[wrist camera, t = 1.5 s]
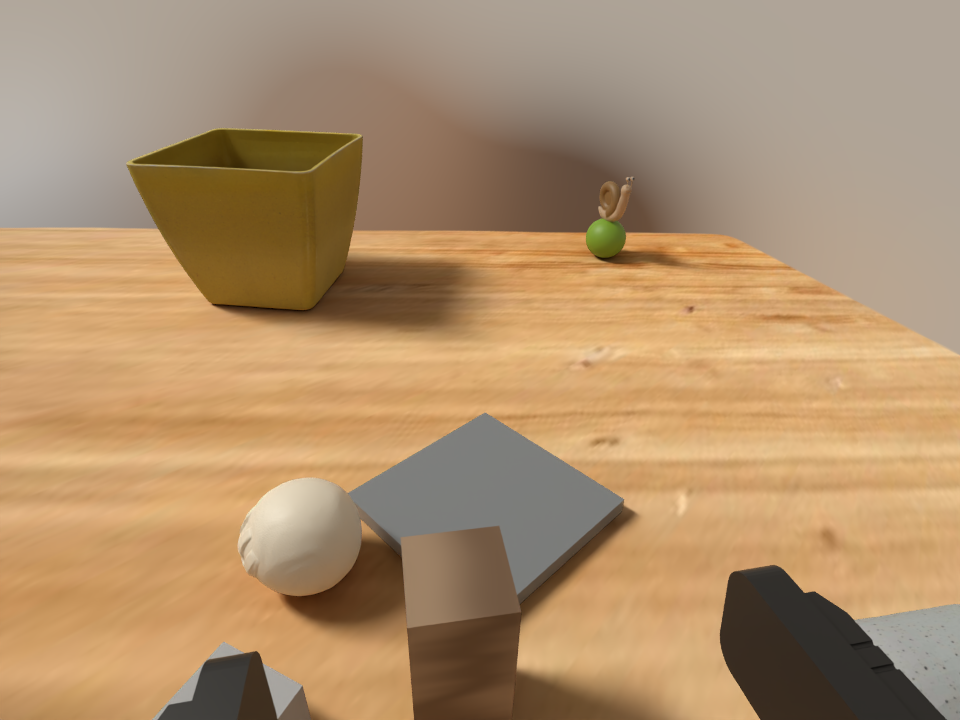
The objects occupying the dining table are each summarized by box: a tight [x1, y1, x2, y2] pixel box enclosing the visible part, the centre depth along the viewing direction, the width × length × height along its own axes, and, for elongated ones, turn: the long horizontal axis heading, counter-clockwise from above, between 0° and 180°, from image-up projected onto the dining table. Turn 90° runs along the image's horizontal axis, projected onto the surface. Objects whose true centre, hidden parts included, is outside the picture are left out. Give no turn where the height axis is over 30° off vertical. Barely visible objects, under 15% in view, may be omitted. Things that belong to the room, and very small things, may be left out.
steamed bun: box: [238, 478, 362, 596], centre depth 36 cm, size 7×7×7 cm
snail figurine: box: [586, 177, 634, 258], centre depth 80 cm, size 5×6×12 cm
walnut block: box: [401, 526, 521, 720], centre depth 28 cm, size 4×4×11 cm
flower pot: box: [126, 128, 363, 310], centre depth 69 cm, size 19×19×17 cm
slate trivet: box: [348, 413, 624, 604], centre depth 43 cm, size 14×14×1 cm
